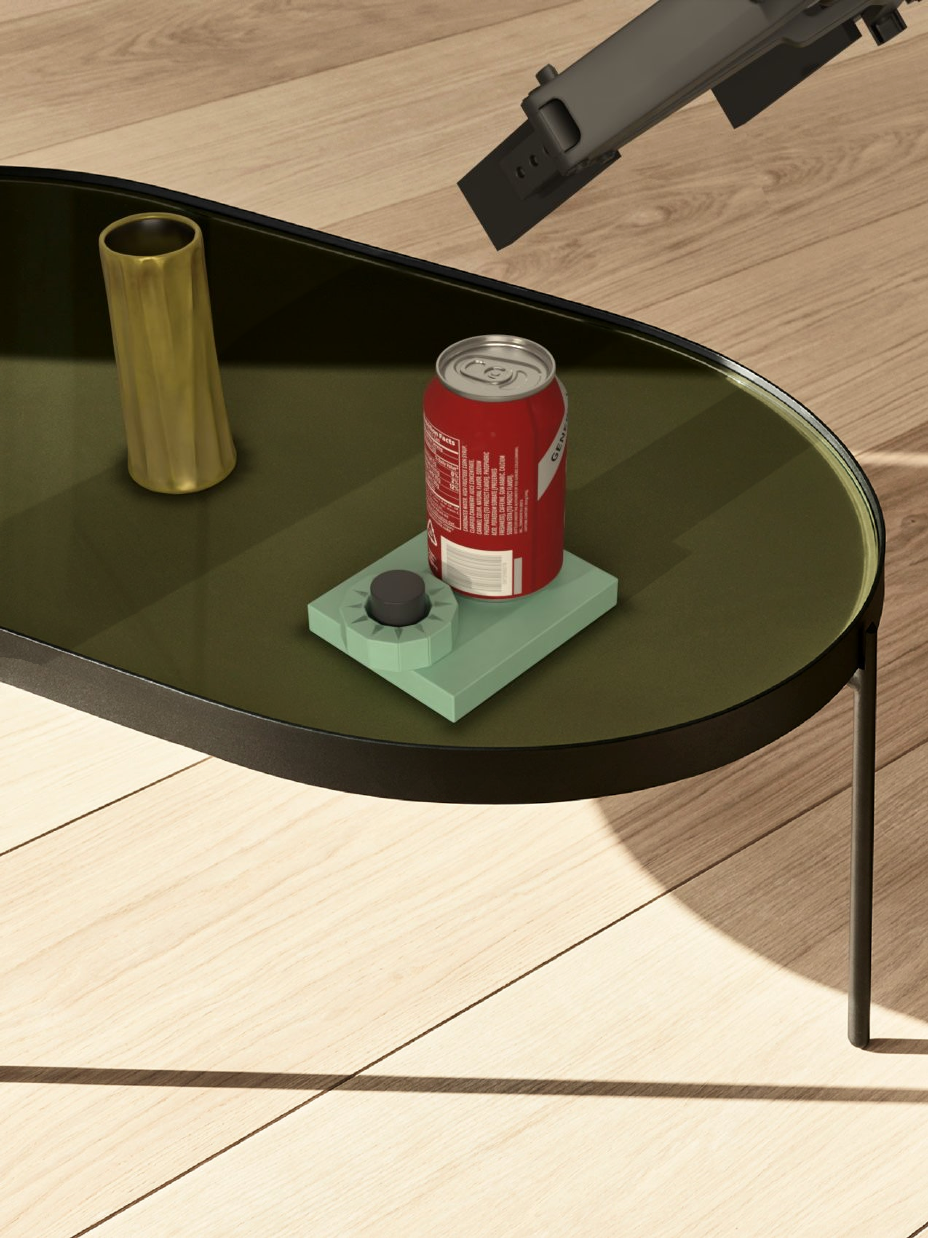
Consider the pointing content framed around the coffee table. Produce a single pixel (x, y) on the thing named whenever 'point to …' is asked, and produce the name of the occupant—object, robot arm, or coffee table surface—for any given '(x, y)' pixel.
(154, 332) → the vase
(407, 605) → the tare button
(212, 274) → the coffee table surface
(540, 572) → the soda can
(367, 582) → the scale
